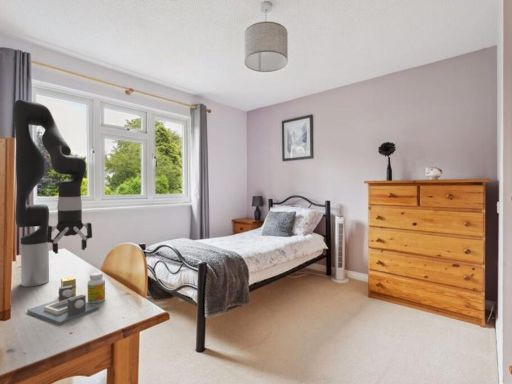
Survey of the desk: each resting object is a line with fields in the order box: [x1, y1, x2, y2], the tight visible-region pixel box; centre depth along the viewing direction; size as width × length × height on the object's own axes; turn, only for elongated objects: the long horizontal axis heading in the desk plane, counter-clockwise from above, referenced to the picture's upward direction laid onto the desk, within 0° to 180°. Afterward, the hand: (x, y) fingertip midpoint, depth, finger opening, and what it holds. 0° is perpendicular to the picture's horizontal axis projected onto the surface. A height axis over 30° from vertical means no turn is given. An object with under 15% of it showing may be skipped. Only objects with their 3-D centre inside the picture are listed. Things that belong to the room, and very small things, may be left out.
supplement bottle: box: [87, 271, 106, 304], centre depth 99 cm, size 5×5×10 cm
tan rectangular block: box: [60, 276, 77, 296], centre depth 104 cm, size 4×4×6 cm
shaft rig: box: [26, 285, 99, 326], centre depth 90 cm, size 18×12×6 cm, turn 64°
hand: (70, 251), depth 104 cm, fingers open, 8 cm apart
